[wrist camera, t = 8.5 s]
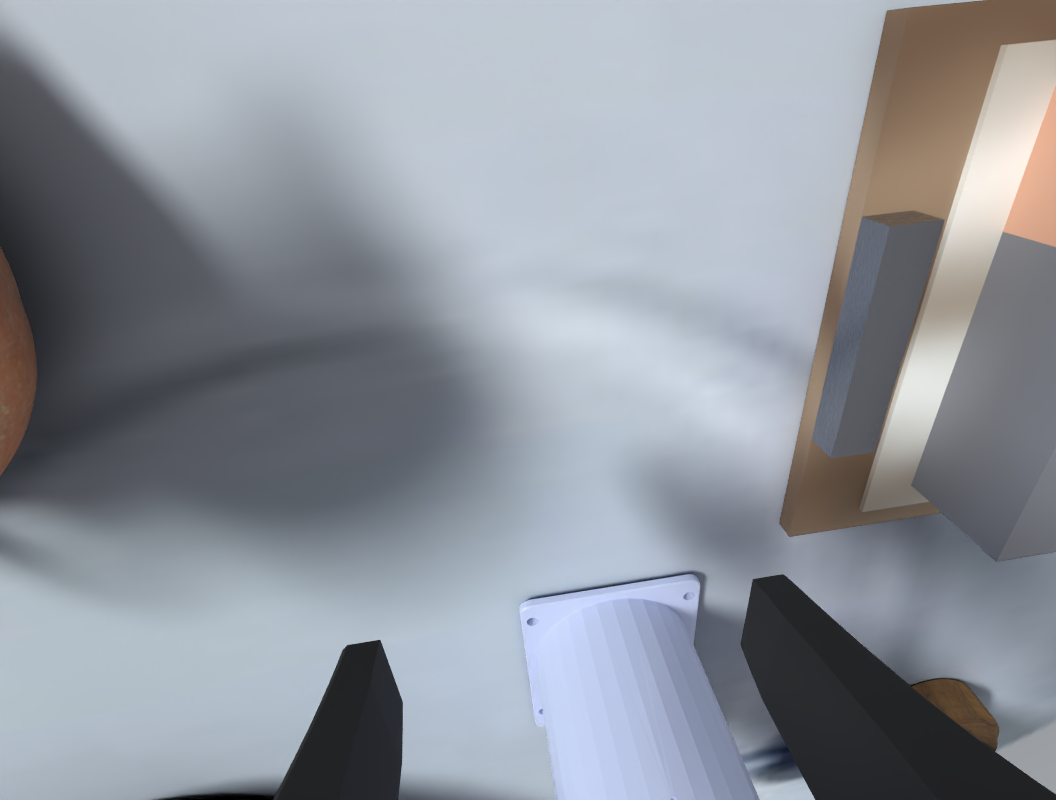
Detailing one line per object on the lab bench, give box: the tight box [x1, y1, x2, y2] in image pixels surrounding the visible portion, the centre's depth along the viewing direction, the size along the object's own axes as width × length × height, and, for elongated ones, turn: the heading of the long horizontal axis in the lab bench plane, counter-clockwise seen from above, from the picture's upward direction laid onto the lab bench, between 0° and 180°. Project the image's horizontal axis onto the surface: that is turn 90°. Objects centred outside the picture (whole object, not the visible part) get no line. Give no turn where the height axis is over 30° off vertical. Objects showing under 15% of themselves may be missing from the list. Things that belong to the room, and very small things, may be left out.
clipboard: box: [780, 0, 1056, 537], centre depth 18 cm, size 18×13×2 cm
